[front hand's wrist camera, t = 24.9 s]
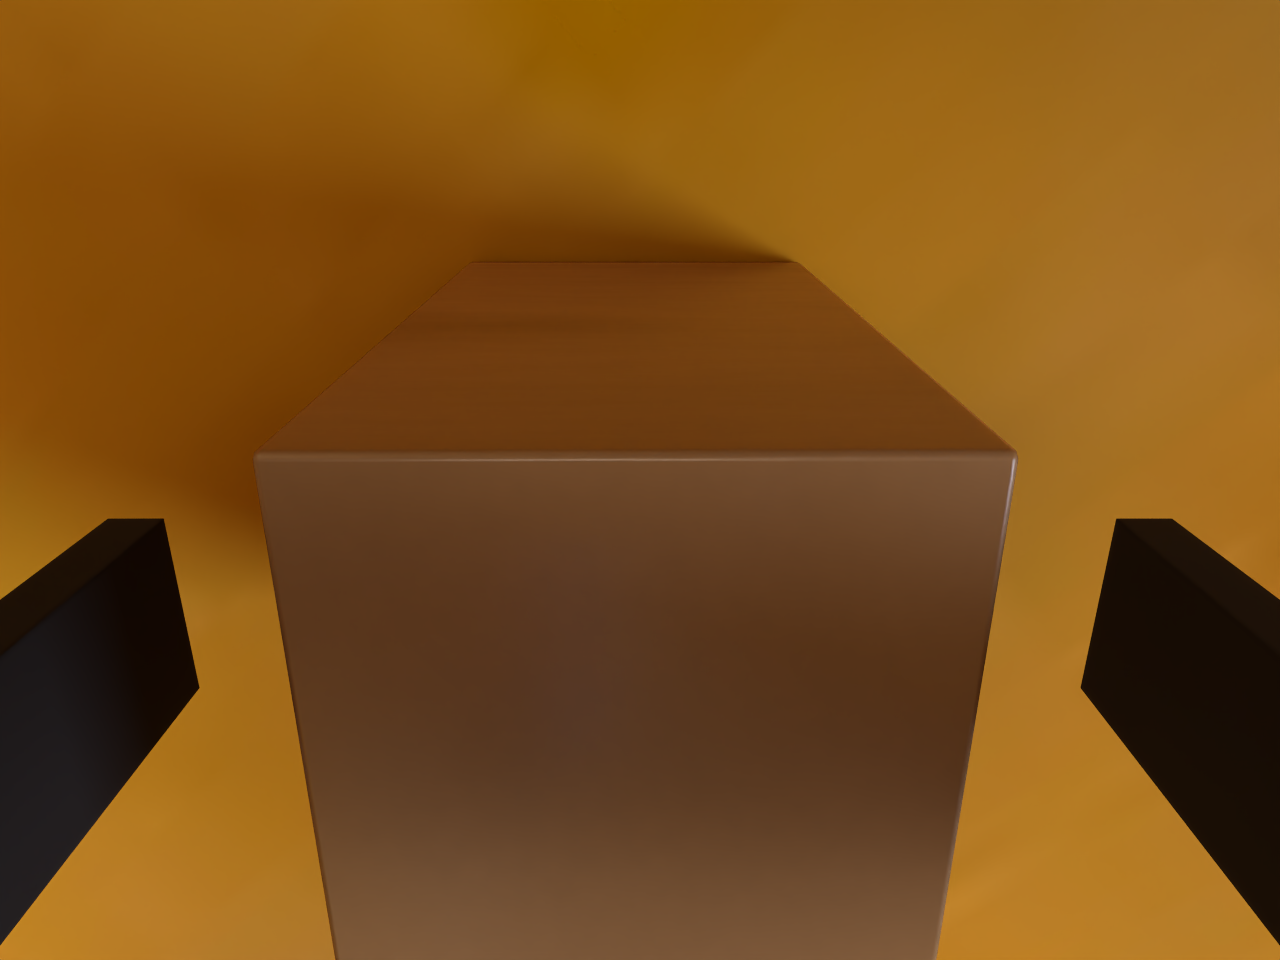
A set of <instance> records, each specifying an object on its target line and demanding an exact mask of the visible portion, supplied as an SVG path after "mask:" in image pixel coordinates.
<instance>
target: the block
mask: <svg viewBox="0 0 1280 960" xmlns="http://www.w3.org/2000/svg"><path fill="white" fill-rule="evenodd" d="M1017 463H1018V456H1017V452H1016V450H1014V449H1013V448H1012V447H1011V446H1010V445H1009V444H1007V443H1006V442H1005V441H1004V440H1003V439H1002V438H1001V437H999V436H998V435H997V434H996V433H995V432H994V431H992V430H991V429H990V428H989V427H988V426H987V425H986V424H984V423H983V422H982V421H981V420H980V419H979V418H977V417H976V416H975V415H974V414H973V413H972V412H971V411H969V410H968V409H967V408H966V407H965V406H964V405H962V404H961V403H960V402H959V401H958V400H957V399H956V398H954V397H953V396H952V395H951V394H950V393H949V392H947V391H946V390H945V389H944V388H943V387H942V386H941V385H939V384H938V383H937V382H936V381H935V380H934V379H932V378H931V377H930V376H929V375H928V374H927V373H926V372H924V371H923V370H922V369H921V368H920V367H919V366H917V365H916V364H915V363H914V362H913V361H912V360H911V359H909V358H908V357H907V356H906V355H905V354H904V353H902V352H901V351H900V350H899V349H898V348H897V347H896V346H894V345H893V344H892V343H891V342H890V341H889V340H887V339H886V338H885V337H884V336H883V335H882V334H881V333H879V332H878V331H877V330H876V329H875V328H874V327H872V326H871V325H870V324H869V323H868V322H867V321H866V320H864V319H863V318H862V317H861V316H860V315H859V314H857V313H856V312H855V311H854V310H853V309H852V308H851V307H849V306H848V305H847V304H846V303H845V302H844V301H842V300H841V299H840V298H839V297H838V296H837V295H836V294H834V293H833V292H832V291H831V290H830V289H829V288H827V287H826V286H825V285H824V284H823V283H822V282H820V281H819V280H818V279H817V278H816V277H815V276H814V275H812V274H811V273H810V272H809V271H808V270H807V269H805V268H804V267H803V266H802V265H801V264H799V263H797V262H472V263H470V264H468V265H467V266H466V267H465V268H464V269H463V270H461V271H460V272H459V273H458V274H457V275H456V276H455V277H453V278H452V279H451V280H450V281H449V282H448V283H447V284H446V285H444V286H443V287H442V288H441V289H440V290H439V291H438V292H436V293H435V294H434V295H433V296H432V297H431V298H430V299H428V300H427V301H426V302H425V303H424V304H423V305H422V306H420V307H419V308H418V309H417V310H416V311H415V312H414V313H412V314H411V315H410V316H409V317H408V318H407V319H406V320H404V321H403V322H402V323H401V324H400V325H399V326H398V327H397V328H395V329H394V330H393V331H392V332H391V333H390V334H389V335H387V336H386V337H385V338H384V339H383V340H382V341H381V342H379V343H378V344H377V345H376V346H375V347H374V348H373V349H371V350H370V351H369V352H368V353H367V354H366V355H365V356H363V357H362V358H361V359H360V360H359V361H358V362H357V363H355V364H354V365H353V366H352V367H351V368H350V369H349V370H348V371H346V372H345V373H344V374H343V375H342V376H341V377H340V378H338V379H337V380H336V381H335V382H334V383H333V384H332V385H330V386H329V387H328V388H327V389H326V390H325V391H324V392H322V393H321V394H320V395H319V396H318V397H317V398H316V399H314V400H313V401H312V402H311V403H310V404H309V405H308V406H306V407H305V408H304V409H303V410H302V411H301V412H300V413H299V414H297V415H296V416H295V417H294V418H293V419H292V420H291V421H289V422H288V423H287V424H286V425H285V426H284V427H283V428H281V429H280V430H279V431H278V432H277V433H276V434H275V435H273V436H272V437H271V438H270V439H269V440H268V441H267V442H265V443H264V444H263V445H262V446H261V447H260V448H259V449H258V450H256V451H255V453H254V457H253V464H254V471H255V477H256V483H257V489H258V495H259V501H260V507H261V513H262V519H263V525H264V531H265V537H266V543H267V549H268V555H269V561H270V567H271V573H272V579H273V585H274V591H275V597H276V603H277V609H278V615H279V621H280V627H281V633H282V640H283V646H284V652H285V658H286V664H287V670H288V676H289V682H290V688H291V694H292V700H293V706H294V712H295V718H296V724H297V730H298V736H299V742H300V748H301V754H302V760H303V766H304V772H305V778H306V784H307V790H308V796H309V802H310V809H311V815H312V821H313V827H314V833H315V839H316V845H317V851H318V857H319V863H320V869H321V875H322V881H323V887H324V893H325V899H326V905H327V911H328V917H329V923H330V929H331V935H332V941H333V947H334V953H335V959H336V960H936V957H937V951H938V945H939V939H940V932H941V926H942V920H943V914H944V908H945V902H946V896H947V890H948V884H949V878H950V871H951V865H952V859H953V853H954V847H955V841H956V835H957V829H958V823H959V817H960V811H961V804H962V798H963V792H964V786H965V780H966V774H967V768H968V762H969V756H970V750H971V743H972V737H973V731H974V725H975V719H976V713H977V707H978V701H979V695H980V689H981V682H982V676H983V670H984V664H985V658H986V652H987V646H988V640H989V634H990V628H991V621H992V615H993V609H994V603H995V597H996V591H997V585H998V579H999V573H1000V567H1001V561H1002V554H1003V548H1004V542H1005V536H1006V530H1007V524H1008V518H1009V512H1010V506H1011V500H1012V493H1013V487H1014V481H1015V475H1016V469H1017Z"/></svg>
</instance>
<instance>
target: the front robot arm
mask: <svg viewBox="0 0 1280 960" xmlns="http://www.w3.org/2000/svg"><path fill="white" fill-rule="evenodd" d="M198 689H199V684H198V679H197V674H196V669H195V665H194V660H193V655H192V651H191V646H190V641H189V636H188V632H187V627H186V622H185V617H184V613H183V608H182V603H181V598H180V594H179V589H178V584H177V580H176V575H175V570H174V565H173V561H172V556H171V551H170V546H169V542H168V537H167V532H166V527H165V523H164V519H107V520H106V521H104V522H103V523H102V524H100V525H99V526H98V527H96V528H95V529H94V530H92V531H91V532H90V533H88V534H87V535H86V536H84V537H83V538H82V539H80V540H79V541H78V542H76V543H75V544H74V545H72V546H71V547H70V548H68V549H67V550H66V551H64V552H63V553H62V554H60V555H59V556H58V557H56V558H55V559H54V560H52V561H51V562H50V563H49V564H47V565H46V566H45V567H43V568H42V569H41V570H39V571H38V572H37V573H35V574H34V575H33V576H31V577H30V578H29V579H27V580H26V581H25V582H23V583H22V584H21V585H19V586H18V587H17V588H15V589H14V590H13V591H11V592H10V593H9V594H7V595H6V596H5V597H3V598H2V599H1V600H0V945H1V944H2V942H3V941H4V940H5V938H6V937H7V936H8V935H9V933H10V932H11V931H12V929H13V928H14V927H15V926H16V924H17V923H18V922H19V920H20V919H21V918H22V916H23V915H24V914H25V913H26V911H27V910H28V909H29V907H30V906H31V905H32V904H33V902H34V901H35V900H36V898H37V897H38V896H39V894H40V893H41V892H42V891H43V889H44V888H45V887H46V885H47V884H48V883H49V882H50V880H51V879H52V878H53V876H54V875H55V874H56V873H57V871H58V870H59V869H60V867H61V866H62V865H63V863H64V862H65V861H66V860H67V858H68V857H69V856H70V854H71V853H72V852H73V851H74V849H75V848H76V847H77V845H78V844H79V843H80V841H81V840H82V839H83V838H84V836H85V835H86V834H87V832H88V831H89V830H90V829H91V827H92V826H93V825H94V823H95V822H96V821H97V820H98V818H99V817H100V816H101V814H102V813H103V812H104V810H105V809H106V808H107V807H108V805H109V804H110V803H111V801H112V800H113V799H114V798H115V796H116V795H117V794H118V792H119V791H120V790H121V789H122V787H123V786H124V785H125V783H126V782H127V781H128V779H129V778H130V777H131V776H132V774H133V773H134V772H135V770H136V769H137V768H138V767H139V765H140V764H141V763H142V761H143V760H144V759H145V757H146V756H147V755H148V754H149V752H150V751H151V750H152V748H153V747H154V746H155V745H156V743H157V742H158V741H159V739H160V738H161V737H162V736H163V734H164V733H165V732H166V730H167V729H168V728H169V726H170V725H171V724H172V723H173V721H174V720H175V719H176V717H177V716H178V715H179V714H180V712H181V711H182V710H183V708H184V707H185V706H186V704H187V703H188V702H189V701H190V699H191V698H192V697H193V695H194V694H195V693H196V692H197V690H198ZM1081 689H1082V690H1083V692H1084V693H1085V694H1086V695H1087V697H1088V698H1089V699H1090V701H1091V702H1092V703H1093V704H1094V706H1095V707H1096V708H1097V710H1098V711H1099V712H1100V714H1101V715H1102V716H1103V717H1104V719H1105V720H1106V721H1107V723H1108V724H1109V725H1110V726H1111V728H1112V729H1113V730H1114V732H1115V733H1116V734H1117V736H1118V737H1119V738H1120V739H1121V741H1122V742H1123V743H1124V745H1125V746H1126V747H1127V748H1128V750H1129V751H1130V752H1131V754H1132V755H1133V756H1134V757H1135V759H1136V760H1137V761H1138V763H1139V764H1140V765H1141V767H1142V768H1143V769H1144V770H1145V772H1146V773H1147V774H1148V776H1149V777H1150V778H1151V779H1152V781H1153V782H1154V783H1155V785H1156V786H1157V787H1158V789H1159V790H1160V791H1161V792H1162V794H1163V795H1164V796H1165V798H1166V799H1167V800H1168V801H1169V803H1170V804H1171V805H1172V807H1173V808H1174V809H1175V810H1176V812H1177V813H1178V814H1179V816H1180V817H1181V818H1182V820H1183V821H1184V822H1185V823H1186V825H1187V826H1188V827H1189V829H1190V830H1191V831H1192V832H1193V834H1194V835H1195V836H1196V838H1197V839H1198V840H1199V842H1200V843H1201V844H1202V845H1203V847H1204V848H1205V849H1206V851H1207V852H1208V853H1209V854H1210V856H1211V857H1212V858H1213V860H1214V861H1215V862H1216V863H1217V865H1218V866H1219V867H1220V869H1221V870H1222V871H1223V873H1224V874H1225V875H1226V876H1227V878H1228V879H1229V880H1230V882H1231V883H1232V884H1233V885H1234V887H1235V888H1236V889H1237V891H1238V892H1239V893H1240V894H1241V896H1242V897H1243V898H1244V900H1245V901H1246V902H1247V904H1248V905H1249V906H1250V907H1251V909H1252V910H1253V911H1254V913H1255V914H1256V915H1257V916H1258V918H1259V919H1260V920H1261V922H1262V923H1263V924H1264V926H1265V927H1266V928H1267V929H1268V931H1269V932H1270V933H1271V935H1272V936H1273V937H1274V938H1275V940H1276V941H1277V942H1278V944H1279V945H1280V600H1279V599H1278V598H1277V597H1275V596H1274V595H1273V594H1271V593H1270V592H1269V591H1267V590H1266V589H1265V588H1263V587H1262V586H1261V585H1259V584H1258V583H1257V582H1255V581H1254V580H1253V579H1251V578H1250V577H1249V576H1247V575H1246V574H1245V573H1243V572H1242V571H1241V570H1239V569H1238V568H1237V567H1235V566H1234V565H1233V564H1231V563H1230V562H1229V561H1228V560H1226V559H1225V558H1224V557H1222V556H1221V555H1220V554H1218V553H1217V552H1216V551H1214V550H1213V549H1212V548H1210V547H1209V546H1208V545H1206V544H1205V543H1204V542H1202V541H1201V540H1200V539H1198V538H1197V537H1196V536H1194V535H1193V534H1192V533H1190V532H1189V531H1188V530H1186V529H1185V528H1184V527H1182V526H1181V525H1180V524H1178V523H1177V522H1176V521H1174V520H1173V519H1116V523H1115V527H1114V532H1113V537H1112V542H1111V546H1110V551H1109V556H1108V561H1107V565H1106V570H1105V575H1104V580H1103V584H1102V589H1101V594H1100V598H1099V603H1098V608H1097V613H1096V617H1095V622H1094V627H1093V632H1092V636H1091V641H1090V646H1089V651H1088V655H1087V660H1086V665H1085V669H1084V674H1083V679H1082V684H1081Z"/></svg>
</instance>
